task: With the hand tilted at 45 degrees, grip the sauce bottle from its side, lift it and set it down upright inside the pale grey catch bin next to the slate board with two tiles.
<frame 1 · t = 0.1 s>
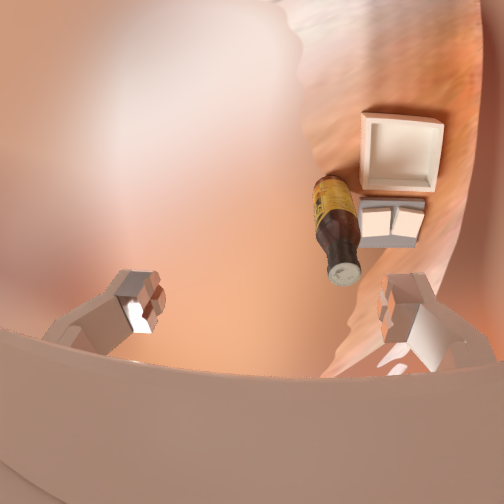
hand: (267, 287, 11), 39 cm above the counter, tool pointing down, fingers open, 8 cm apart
sauce bottle: (330, 190, 50), on the counter
tile A: (375, 220, 51), point 1 cm above the counter, touching slate board
catch bin: (397, 148, 43), on the counter
tile B: (406, 220, 50), point 1 cm above the counter, touching slate board
slate board: (388, 221, 52), on the counter
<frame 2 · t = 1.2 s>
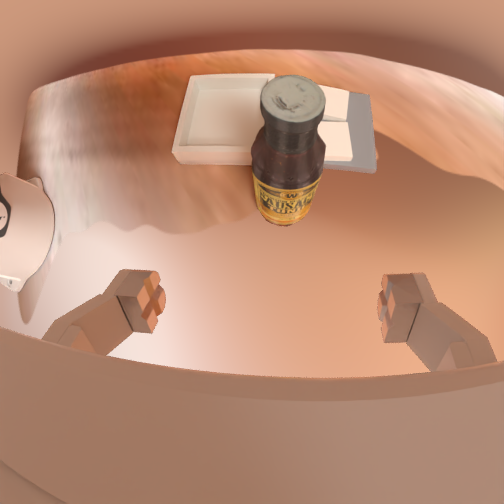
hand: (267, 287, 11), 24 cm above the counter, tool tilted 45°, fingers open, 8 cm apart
sauce bottle: (285, 203, 36), on the counter
tile A: (329, 143, 36), point 1 cm above the counter, touching slate board
catch bin: (229, 123, 39), on the counter
tile B: (328, 105, 37), point 1 cm above the counter, touching slate board
slate board: (335, 129, 37), on the counter
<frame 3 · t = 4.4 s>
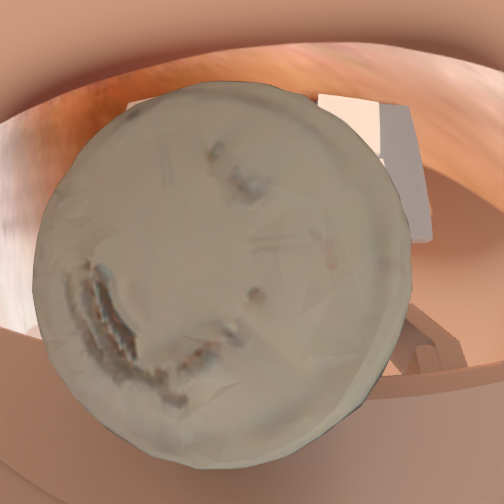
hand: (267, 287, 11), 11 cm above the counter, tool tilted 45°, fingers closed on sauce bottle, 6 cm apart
sauce bottle: (284, 311, 22), on the counter, touching gripper
tile B: (347, 129, 23), point 1 cm above the counter, touching slate board
slate board: (361, 168, 23), on the counter
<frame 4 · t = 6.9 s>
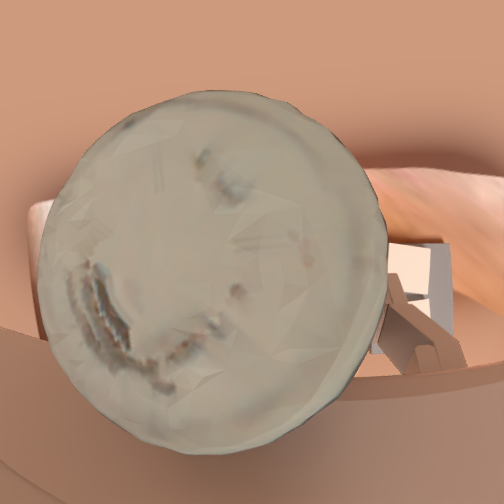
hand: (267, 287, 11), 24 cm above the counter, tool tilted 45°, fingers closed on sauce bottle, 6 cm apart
sauce bottle: (288, 310, 22), point 12 cm above the counter, touching gripper
tile A: (406, 325, 30), point 1 cm above the counter, touching slate board
tile B: (405, 270, 31), point 1 cm above the counter, touching slate board
slate board: (411, 297, 31), on the counter
when the fingers open (14 cm above the counter, at t = 9.5 s): sauce bottle drops 1 cm, resting on catch bin.
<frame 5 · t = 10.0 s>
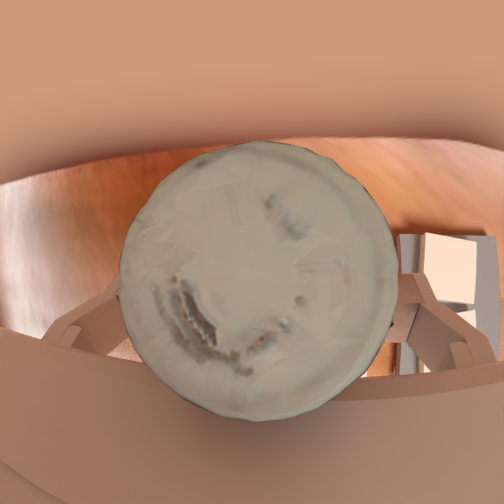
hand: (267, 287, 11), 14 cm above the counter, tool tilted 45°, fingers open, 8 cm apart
sauce bottle: (288, 311, 23), point 1 cm above the counter, touching catch bin
tile B: (445, 270, 21), point 1 cm above the counter, touching slate board
slate board: (450, 308, 22), on the counter
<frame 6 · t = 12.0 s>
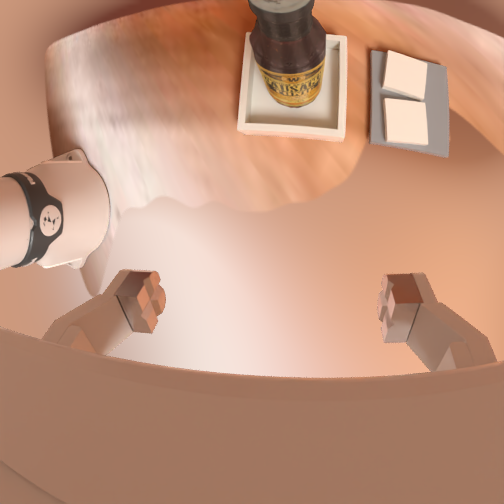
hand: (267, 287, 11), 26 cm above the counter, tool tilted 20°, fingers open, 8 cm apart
sauce bottle: (296, 86, 32), point 1 cm above the counter, touching catch bin
tile A: (404, 122, 30), point 1 cm above the counter, touching slate board
catch bin: (295, 88, 33), on the counter
tile B: (404, 76, 29), point 1 cm above the counter, touching slate board
slate board: (409, 103, 30), on the counter
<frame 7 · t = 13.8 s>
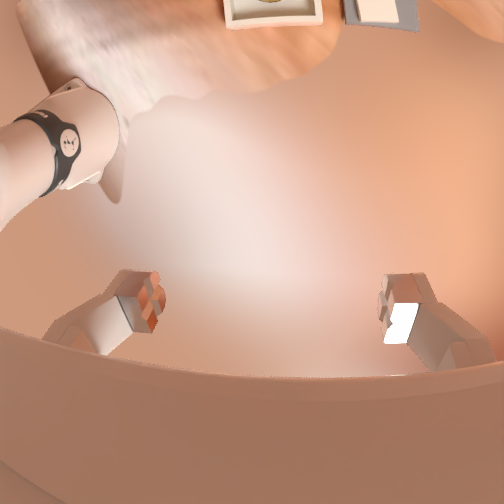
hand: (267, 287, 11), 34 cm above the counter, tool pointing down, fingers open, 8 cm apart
tile A: (375, 5, 27), point 1 cm above the counter, touching slate board
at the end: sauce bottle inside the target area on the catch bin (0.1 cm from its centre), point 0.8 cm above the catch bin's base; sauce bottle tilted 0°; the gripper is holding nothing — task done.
